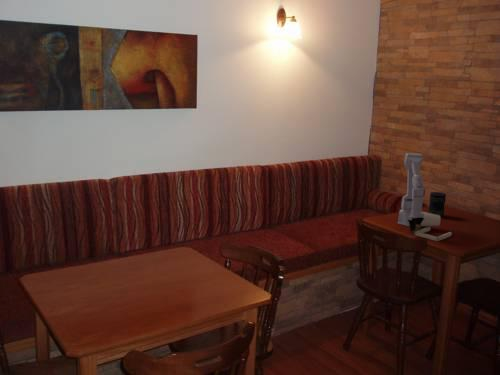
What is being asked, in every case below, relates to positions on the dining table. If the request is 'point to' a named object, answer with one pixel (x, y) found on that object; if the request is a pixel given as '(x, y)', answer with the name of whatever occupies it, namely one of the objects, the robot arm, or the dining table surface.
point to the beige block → (415, 228)
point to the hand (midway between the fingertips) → (414, 229)
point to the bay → (422, 231)
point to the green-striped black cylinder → (437, 203)
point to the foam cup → (430, 219)
